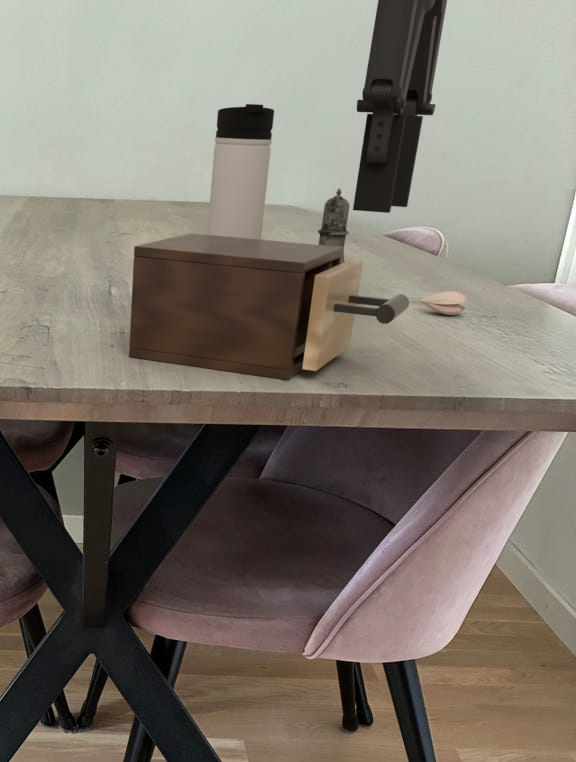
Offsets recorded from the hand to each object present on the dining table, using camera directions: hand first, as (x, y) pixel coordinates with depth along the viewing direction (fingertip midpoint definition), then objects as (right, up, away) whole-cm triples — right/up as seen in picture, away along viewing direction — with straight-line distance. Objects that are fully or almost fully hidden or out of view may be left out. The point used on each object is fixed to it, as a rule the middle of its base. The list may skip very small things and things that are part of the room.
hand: (380, 207), depth 76 cm
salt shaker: (+5, +7, +39) cm, 40 cm away
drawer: (-6, -9, +8) cm, 13 cm away
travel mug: (-7, +7, +38) cm, 40 cm away
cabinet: (-10, -9, +11) cm, 17 cm away
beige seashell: (+16, +2, +32) cm, 36 cm away
